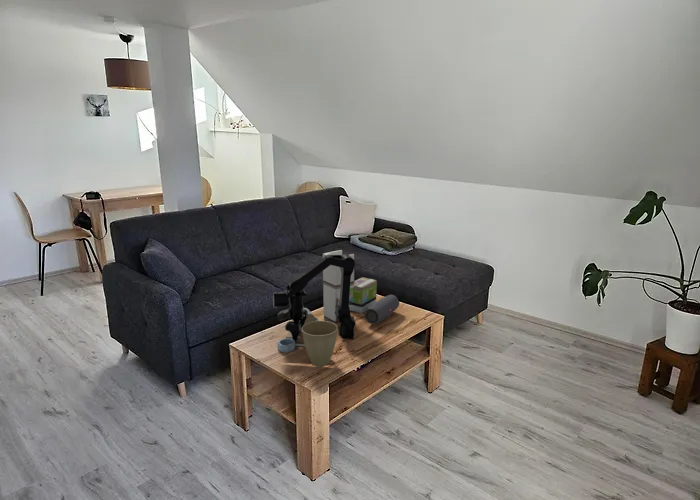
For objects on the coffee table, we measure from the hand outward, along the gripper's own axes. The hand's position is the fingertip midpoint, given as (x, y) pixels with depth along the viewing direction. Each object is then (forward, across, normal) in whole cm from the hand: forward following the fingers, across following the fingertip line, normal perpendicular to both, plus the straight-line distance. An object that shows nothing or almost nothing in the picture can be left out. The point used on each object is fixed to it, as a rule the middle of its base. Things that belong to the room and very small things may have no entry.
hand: (297, 337), depth 215 cm
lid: (+2, 0, 0) cm, 2 cm away
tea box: (+3, -46, +25) cm, 52 cm away
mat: (+3, 0, 0) cm, 3 cm away
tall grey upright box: (+3, -28, +15) cm, 32 cm away
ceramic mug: (+3, -21, 0) cm, 22 cm away
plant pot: (+3, +17, +14) cm, 22 cm away
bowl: (+3, +8, -3) cm, 9 cm away
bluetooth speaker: (+3, -32, +37) cm, 49 cm away
